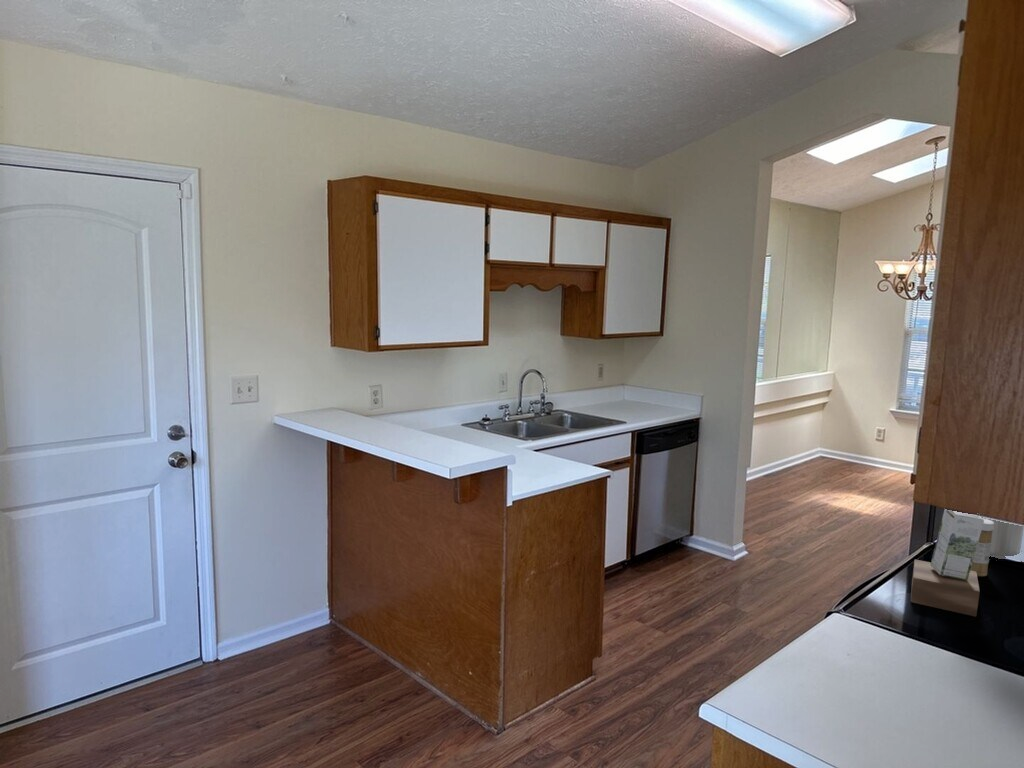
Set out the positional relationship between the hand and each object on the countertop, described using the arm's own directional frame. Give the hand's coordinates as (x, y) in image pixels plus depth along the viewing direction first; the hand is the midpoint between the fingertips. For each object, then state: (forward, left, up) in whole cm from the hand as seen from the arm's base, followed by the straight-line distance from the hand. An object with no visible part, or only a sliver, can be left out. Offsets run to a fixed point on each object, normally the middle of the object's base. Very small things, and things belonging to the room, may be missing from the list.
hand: (986, 429), depth 158 cm
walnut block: (+17, -1, -37) cm, 41 cm away
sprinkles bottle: (-5, +1, -36) cm, 37 cm away
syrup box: (+17, -1, -31) cm, 35 cm away
